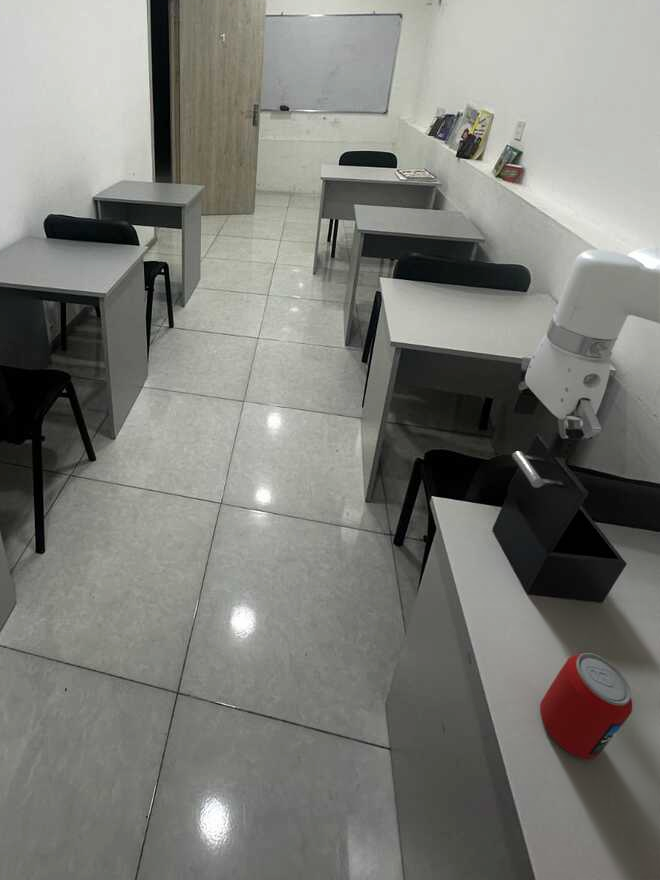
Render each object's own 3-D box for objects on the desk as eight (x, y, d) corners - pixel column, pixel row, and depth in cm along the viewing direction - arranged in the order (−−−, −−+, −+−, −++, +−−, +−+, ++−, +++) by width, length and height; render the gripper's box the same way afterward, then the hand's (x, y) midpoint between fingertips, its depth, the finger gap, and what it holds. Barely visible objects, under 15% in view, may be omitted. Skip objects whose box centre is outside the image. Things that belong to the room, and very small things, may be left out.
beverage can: (607, 773, 59) (649, 721, 55) (545, 748, 61) (581, 696, 56) (587, 711, 65) (624, 659, 60) (531, 690, 67) (563, 638, 62)
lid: (541, 434, 82) (508, 429, 82) (588, 492, 70) (550, 487, 70) (511, 490, 87) (480, 486, 87) (551, 553, 76) (515, 548, 76)
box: (557, 536, 91) (577, 499, 87) (602, 603, 79) (627, 564, 76) (491, 529, 91) (508, 492, 87) (526, 594, 80) (547, 555, 76)
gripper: (655, 375, 59) (602, 479, 66) (568, 311, 75) (533, 400, 82) (593, 370, 59) (546, 473, 66) (519, 307, 75) (488, 396, 82)
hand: (539, 433), depth 74 cm, fingers open, 9 cm apart
